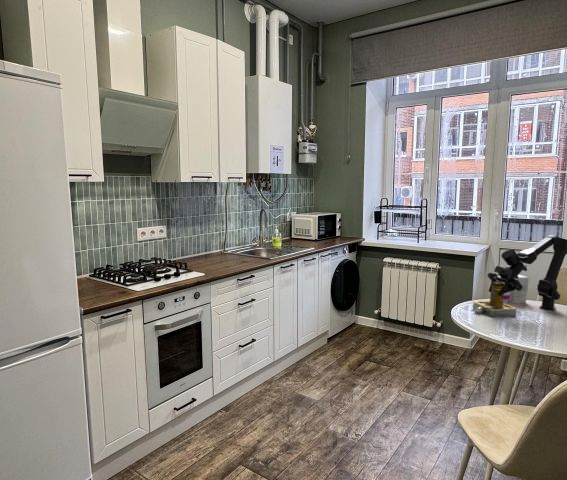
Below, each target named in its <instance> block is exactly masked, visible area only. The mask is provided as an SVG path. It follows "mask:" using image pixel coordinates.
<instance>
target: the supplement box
mask: <svg viewBox="0 0 567 480" xmlns="http://www.w3.org/2000/svg"><path fill="white" fill-rule="evenodd" d="M518 277H519V278H518V279H517V278H515V279H516V280H518V281H519V282H520V283H521V284H522V286H523V288H522V289H521V291H518V290H516V289H515V291H510V299H509V303H511V304H524V303H525V304H526V303H527V295H528V287H529V280H530V277H529V276H525V275H522V274H519V275H518Z"/></svg>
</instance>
